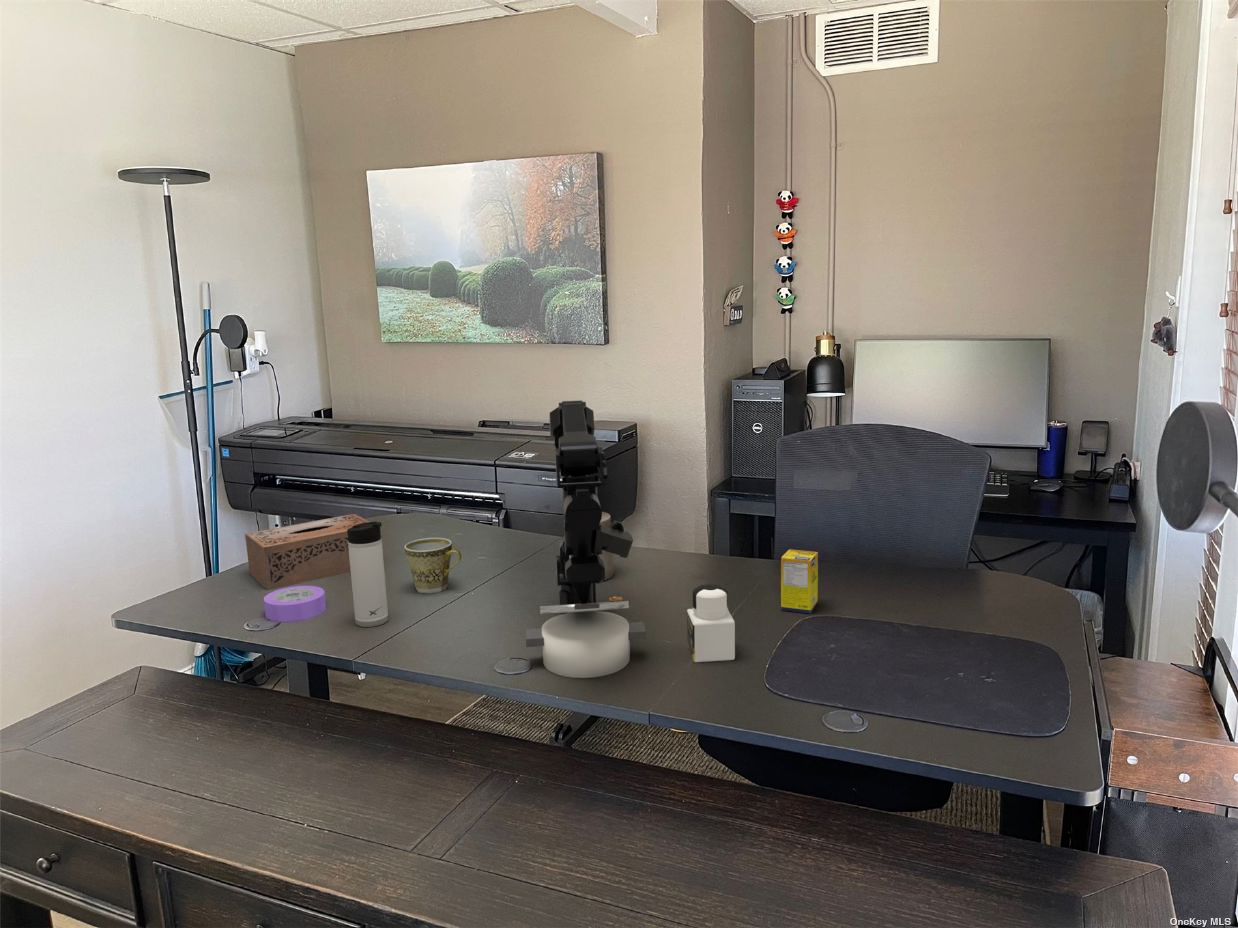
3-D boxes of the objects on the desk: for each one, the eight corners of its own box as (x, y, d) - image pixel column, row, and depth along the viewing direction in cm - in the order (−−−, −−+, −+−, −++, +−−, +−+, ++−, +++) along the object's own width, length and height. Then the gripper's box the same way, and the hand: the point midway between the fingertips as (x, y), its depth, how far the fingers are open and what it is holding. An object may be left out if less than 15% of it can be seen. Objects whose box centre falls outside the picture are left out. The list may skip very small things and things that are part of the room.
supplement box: (817, 604, 177) (818, 551, 174) (810, 614, 171) (811, 560, 169) (788, 600, 179) (788, 548, 177) (780, 610, 174) (780, 557, 172)
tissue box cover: (357, 552, 222) (353, 513, 220) (380, 566, 210) (376, 525, 208) (249, 575, 206) (245, 533, 204) (268, 591, 195) (263, 547, 193)
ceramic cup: (398, 593, 190) (394, 548, 188) (425, 578, 199) (422, 535, 197) (450, 600, 185) (447, 554, 183) (475, 584, 194) (472, 540, 192)
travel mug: (381, 628, 171) (372, 527, 167) (349, 626, 172) (340, 527, 168) (395, 616, 177) (387, 519, 173) (364, 614, 178) (356, 518, 174)
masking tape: (303, 598, 190) (301, 581, 189) (338, 608, 183) (336, 591, 182) (253, 616, 180) (251, 598, 180) (288, 627, 174) (286, 608, 173)
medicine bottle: (687, 646, 158) (686, 582, 156) (726, 643, 159) (726, 579, 156) (693, 663, 151) (692, 596, 149) (735, 660, 152) (735, 593, 150)
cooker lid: (540, 612, 160) (540, 601, 160) (624, 607, 161) (624, 596, 161) (540, 614, 143) (539, 601, 143) (634, 608, 144) (633, 595, 145)
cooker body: (527, 643, 162) (526, 612, 160) (639, 636, 163) (638, 605, 162) (527, 682, 146) (525, 647, 145) (650, 673, 148) (649, 639, 147)
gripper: (635, 528, 140) (637, 621, 143) (623, 498, 158) (625, 581, 161) (564, 532, 139) (568, 625, 142) (560, 501, 157) (564, 585, 160)
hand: (584, 603), depth 152 cm, fingers closed
